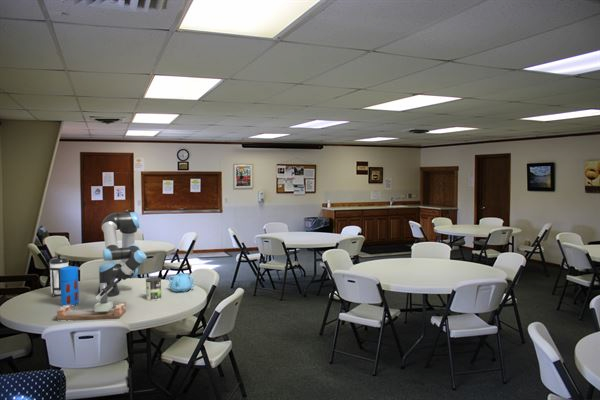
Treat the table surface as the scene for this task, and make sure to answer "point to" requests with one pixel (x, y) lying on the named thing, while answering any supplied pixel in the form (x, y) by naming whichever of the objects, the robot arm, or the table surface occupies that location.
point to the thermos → (69, 285)
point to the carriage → (103, 301)
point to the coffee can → (153, 289)
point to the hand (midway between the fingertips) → (100, 296)
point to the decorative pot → (181, 282)
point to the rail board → (92, 316)
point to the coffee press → (56, 273)
